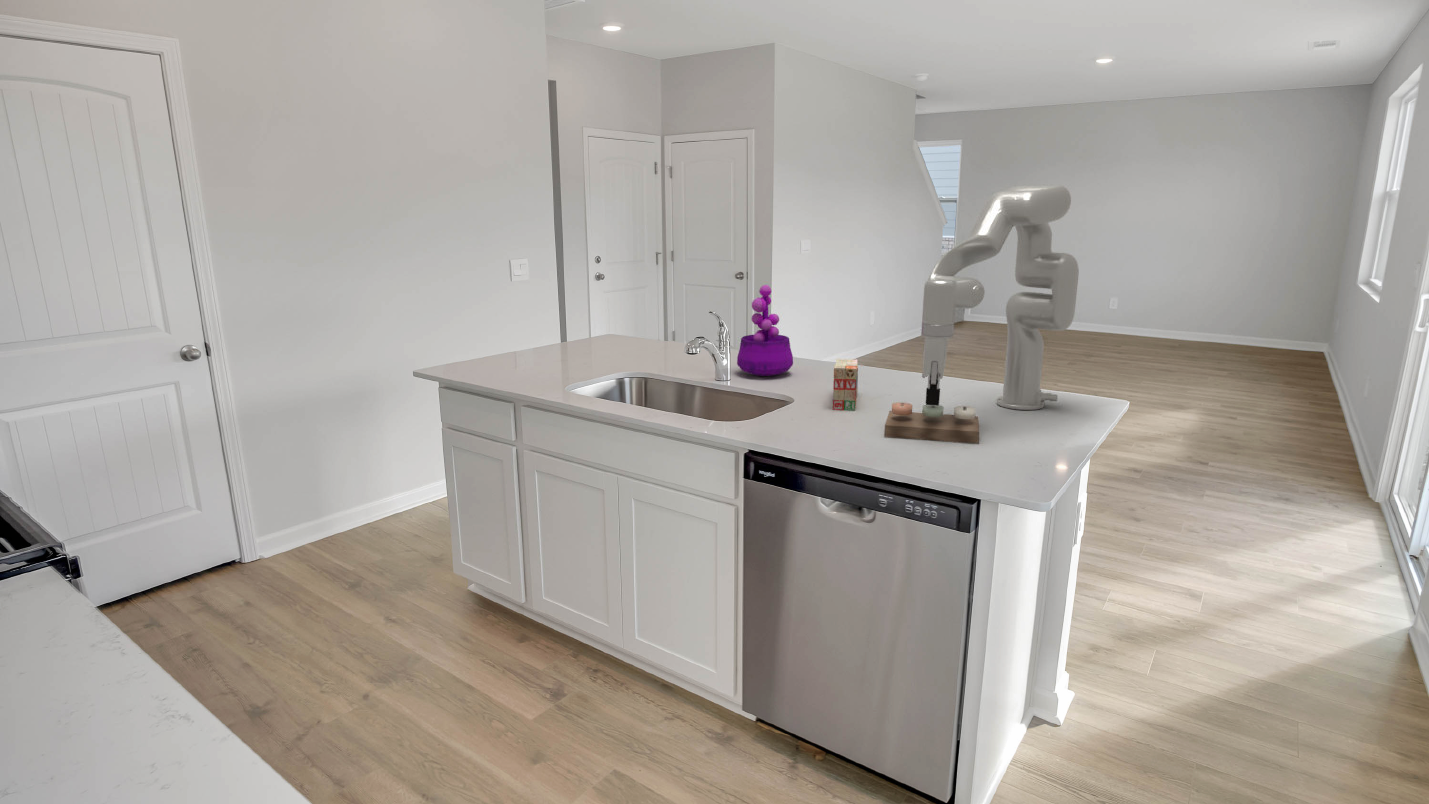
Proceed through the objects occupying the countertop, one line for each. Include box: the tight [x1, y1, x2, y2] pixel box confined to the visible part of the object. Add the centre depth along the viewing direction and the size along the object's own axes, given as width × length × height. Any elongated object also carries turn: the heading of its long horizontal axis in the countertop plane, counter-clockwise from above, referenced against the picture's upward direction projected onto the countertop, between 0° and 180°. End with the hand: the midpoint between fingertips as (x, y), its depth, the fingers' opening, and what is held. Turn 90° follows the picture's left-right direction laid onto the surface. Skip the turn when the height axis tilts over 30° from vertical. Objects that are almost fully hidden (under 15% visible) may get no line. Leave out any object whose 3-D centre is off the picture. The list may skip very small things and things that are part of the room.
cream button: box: [953, 405, 976, 419], centre depth 191 cm, size 5×5×2 cm
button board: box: [883, 410, 980, 444], centre depth 195 cm, size 22×14×3 cm, turn 73°
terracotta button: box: [891, 401, 913, 415], centre depth 196 cm, size 5×5×2 cm
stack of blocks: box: [832, 358, 859, 412], centre depth 225 cm, size 21×6×12 cm, turn 168°
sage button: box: [921, 404, 945, 417], centre depth 193 cm, size 5×5×2 cm
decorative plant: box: [736, 284, 794, 377], centre depth 259 cm, size 19×18×30 cm
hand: (932, 404), depth 193 cm, fingers closed
